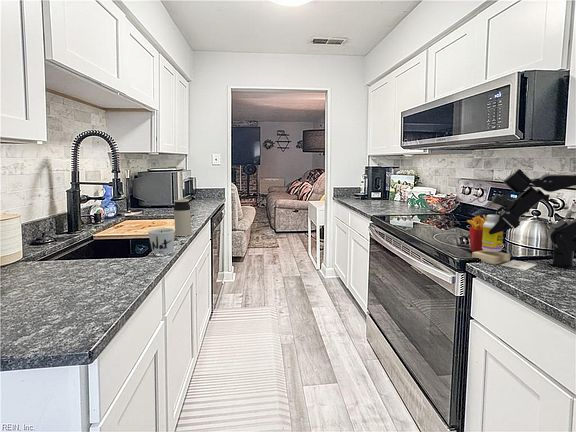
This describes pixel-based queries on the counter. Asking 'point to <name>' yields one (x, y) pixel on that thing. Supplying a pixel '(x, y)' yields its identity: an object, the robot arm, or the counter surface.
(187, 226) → the travel mug
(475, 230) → the french fries
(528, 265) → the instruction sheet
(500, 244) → the supplement bottle
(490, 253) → the base block
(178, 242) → the counter surface
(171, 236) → the mug
